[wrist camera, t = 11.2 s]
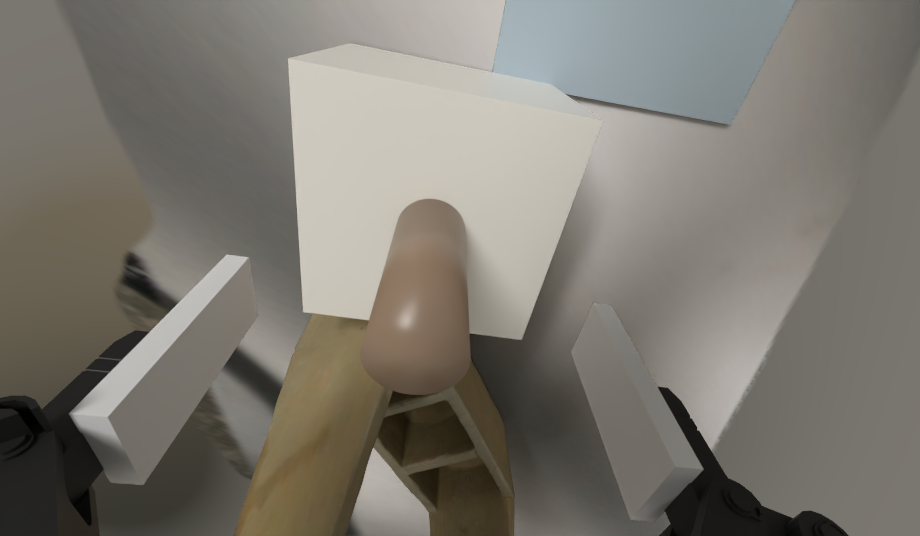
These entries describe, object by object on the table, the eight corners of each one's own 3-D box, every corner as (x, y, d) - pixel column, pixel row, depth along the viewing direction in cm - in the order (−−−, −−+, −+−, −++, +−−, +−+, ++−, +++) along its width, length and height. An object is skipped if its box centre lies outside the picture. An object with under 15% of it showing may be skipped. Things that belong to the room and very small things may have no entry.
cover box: (350, 43, 27) (130, 96, 9) (551, 84, 29) (721, 202, 10) (347, 227, 36) (228, 455, 17) (503, 251, 37) (550, 483, 19)
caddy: (506, 423, 52) (558, 803, 26) (434, 440, 53) (416, 811, 28) (420, 248, 37) (346, 721, 12) (325, 280, 39) (82, 750, 13)
